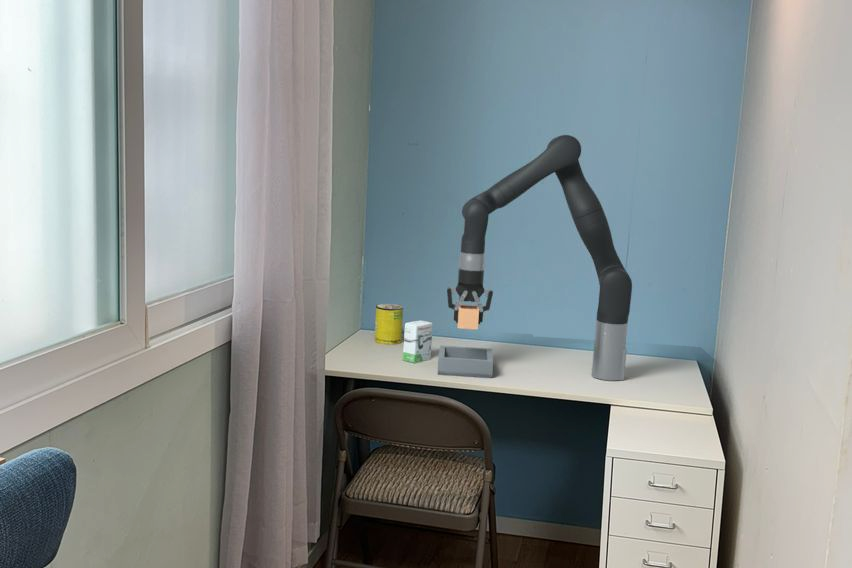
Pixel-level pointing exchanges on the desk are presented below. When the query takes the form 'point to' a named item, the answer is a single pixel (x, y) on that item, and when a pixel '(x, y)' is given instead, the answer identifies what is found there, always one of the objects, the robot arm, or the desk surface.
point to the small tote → (468, 317)
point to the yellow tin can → (388, 324)
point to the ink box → (417, 341)
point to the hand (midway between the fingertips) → (467, 322)
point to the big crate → (465, 361)
